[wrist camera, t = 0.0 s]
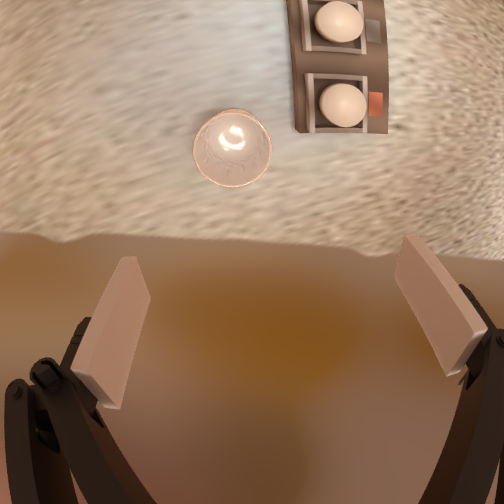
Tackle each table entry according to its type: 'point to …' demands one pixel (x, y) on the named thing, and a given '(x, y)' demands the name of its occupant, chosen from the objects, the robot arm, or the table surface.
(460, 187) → the table surface
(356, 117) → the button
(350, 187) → the table surface
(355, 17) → the button mid
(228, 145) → the tan paper cup
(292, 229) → the table surface
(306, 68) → the panel
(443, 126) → the table surface
